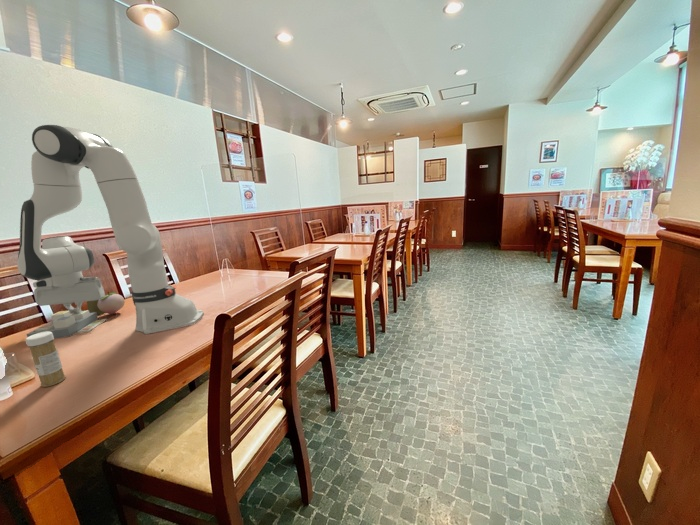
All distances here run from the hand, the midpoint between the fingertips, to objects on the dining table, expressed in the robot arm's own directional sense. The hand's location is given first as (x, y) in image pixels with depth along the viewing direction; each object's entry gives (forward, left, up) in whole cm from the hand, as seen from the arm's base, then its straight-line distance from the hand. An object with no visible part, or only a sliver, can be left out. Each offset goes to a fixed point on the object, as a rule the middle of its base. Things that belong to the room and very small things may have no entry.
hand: (75, 312), depth 108 cm
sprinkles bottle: (-20, +43, -5) cm, 48 cm away
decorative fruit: (-8, -9, -5) cm, 13 cm away
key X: (-1, +7, -3) cm, 8 cm away
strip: (-6, +3, -5) cm, 9 cm away
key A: (+5, -1, -3) cm, 6 cm away
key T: (+5, +7, -5) cm, 10 cm away
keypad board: (+2, +3, -5) cm, 6 cm away
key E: (-1, -1, -4) cm, 4 cm away
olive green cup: (0, -12, -5) cm, 13 cm away
